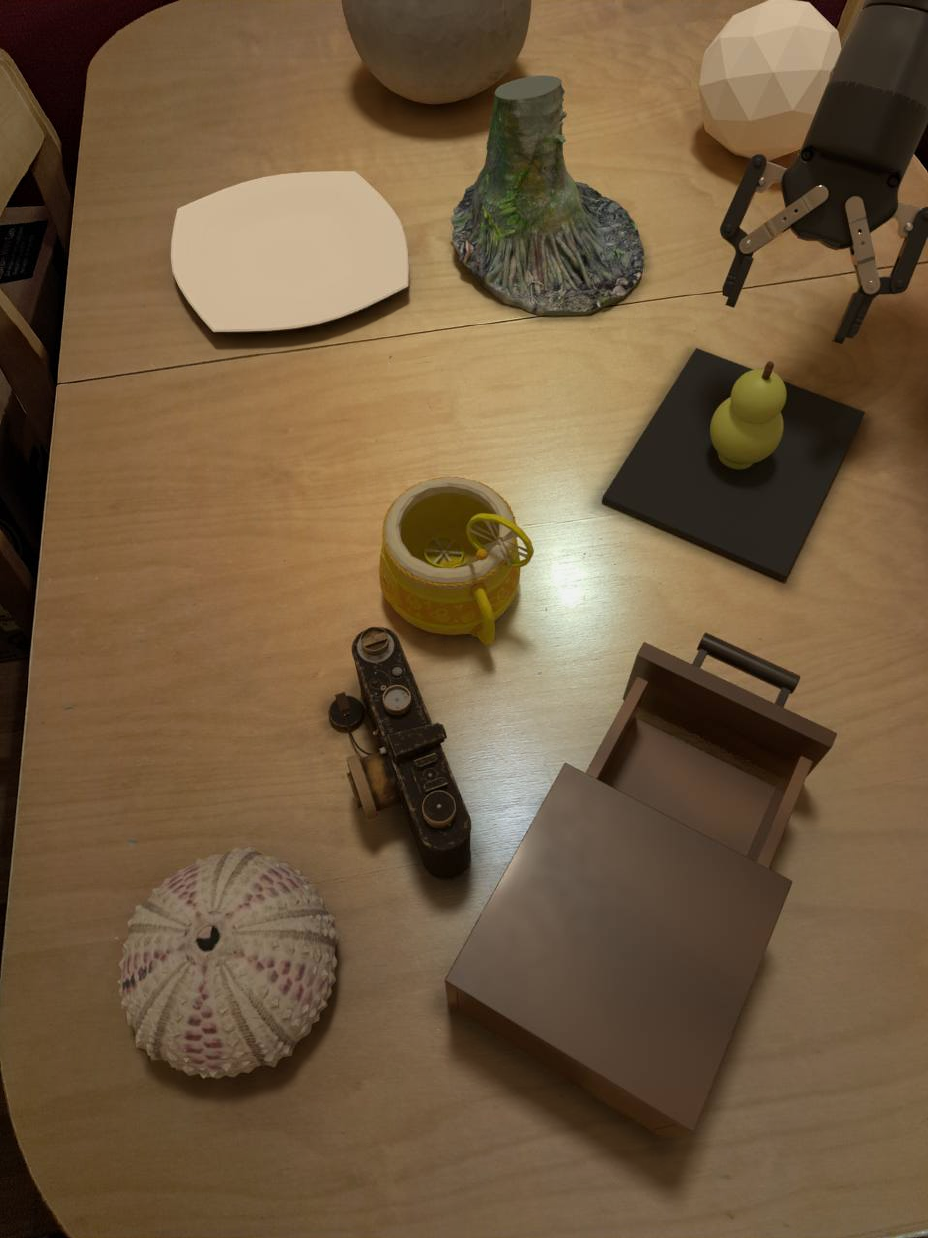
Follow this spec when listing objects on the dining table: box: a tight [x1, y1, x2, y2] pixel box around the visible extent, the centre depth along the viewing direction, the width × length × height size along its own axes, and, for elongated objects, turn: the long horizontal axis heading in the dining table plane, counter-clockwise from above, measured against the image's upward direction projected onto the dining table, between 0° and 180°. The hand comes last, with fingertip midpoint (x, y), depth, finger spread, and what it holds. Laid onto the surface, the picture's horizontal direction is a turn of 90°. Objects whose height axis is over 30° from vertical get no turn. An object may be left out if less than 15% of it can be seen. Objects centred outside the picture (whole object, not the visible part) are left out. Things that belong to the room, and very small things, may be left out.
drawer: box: [585, 632, 838, 869], centre depth 62 cm, size 18×13×7 cm
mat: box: [601, 347, 866, 582], centre depth 80 cm, size 16×20×1 cm
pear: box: [710, 360, 787, 469], centre depth 75 cm, size 6×6×11 cm
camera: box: [327, 626, 472, 881], centre depth 63 cm, size 16×7×8 cm, turn 21°
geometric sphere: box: [698, 0, 842, 162], centre depth 98 cm, size 14×15×15 cm
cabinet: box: [444, 762, 793, 1139], centre depth 56 cm, size 15×15×9 cm
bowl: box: [341, 0, 532, 105], centre depth 103 cm, size 20×20×15 cm
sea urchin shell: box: [116, 846, 341, 1080], centre depth 56 cm, size 13×14×8 cm
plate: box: [170, 170, 410, 334], centre depth 93 cm, size 23×23×2 cm
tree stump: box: [450, 75, 645, 317], centre depth 90 cm, size 18×20×18 cm
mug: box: [378, 476, 535, 646], centre depth 69 cm, size 13×11×12 cm
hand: (783, 324), depth 72 cm, fingers open, 8 cm apart
